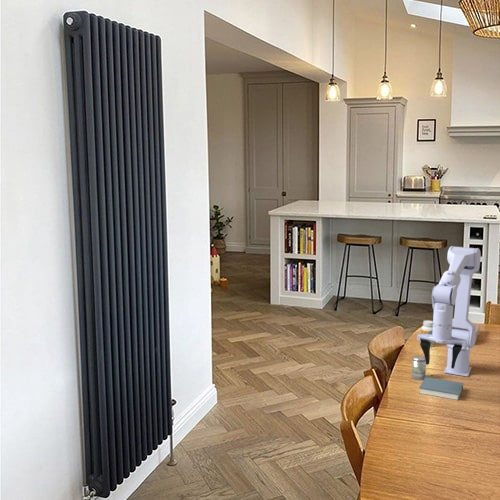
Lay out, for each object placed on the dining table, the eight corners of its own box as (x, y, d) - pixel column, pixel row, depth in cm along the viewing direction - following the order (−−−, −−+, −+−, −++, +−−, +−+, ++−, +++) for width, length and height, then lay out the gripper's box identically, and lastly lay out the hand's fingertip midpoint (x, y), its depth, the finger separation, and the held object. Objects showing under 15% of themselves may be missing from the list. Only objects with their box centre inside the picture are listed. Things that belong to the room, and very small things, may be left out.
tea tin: (413, 374, 214) (413, 354, 213) (426, 376, 212) (427, 356, 211) (410, 378, 210) (411, 358, 209) (423, 381, 208) (425, 361, 207)
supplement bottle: (426, 342, 250) (428, 319, 248) (437, 345, 245) (438, 322, 244) (417, 344, 247) (418, 321, 245) (428, 348, 242) (429, 324, 241)
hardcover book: (425, 383, 207) (425, 376, 206) (462, 390, 201) (463, 383, 201) (418, 394, 198) (419, 387, 197) (458, 401, 192) (458, 393, 192)
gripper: (416, 323, 192) (414, 365, 194) (465, 330, 186) (462, 373, 188) (420, 318, 198) (418, 359, 201) (468, 324, 192) (465, 366, 194)
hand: (440, 365), depth 195 cm, fingers open, 7 cm apart
